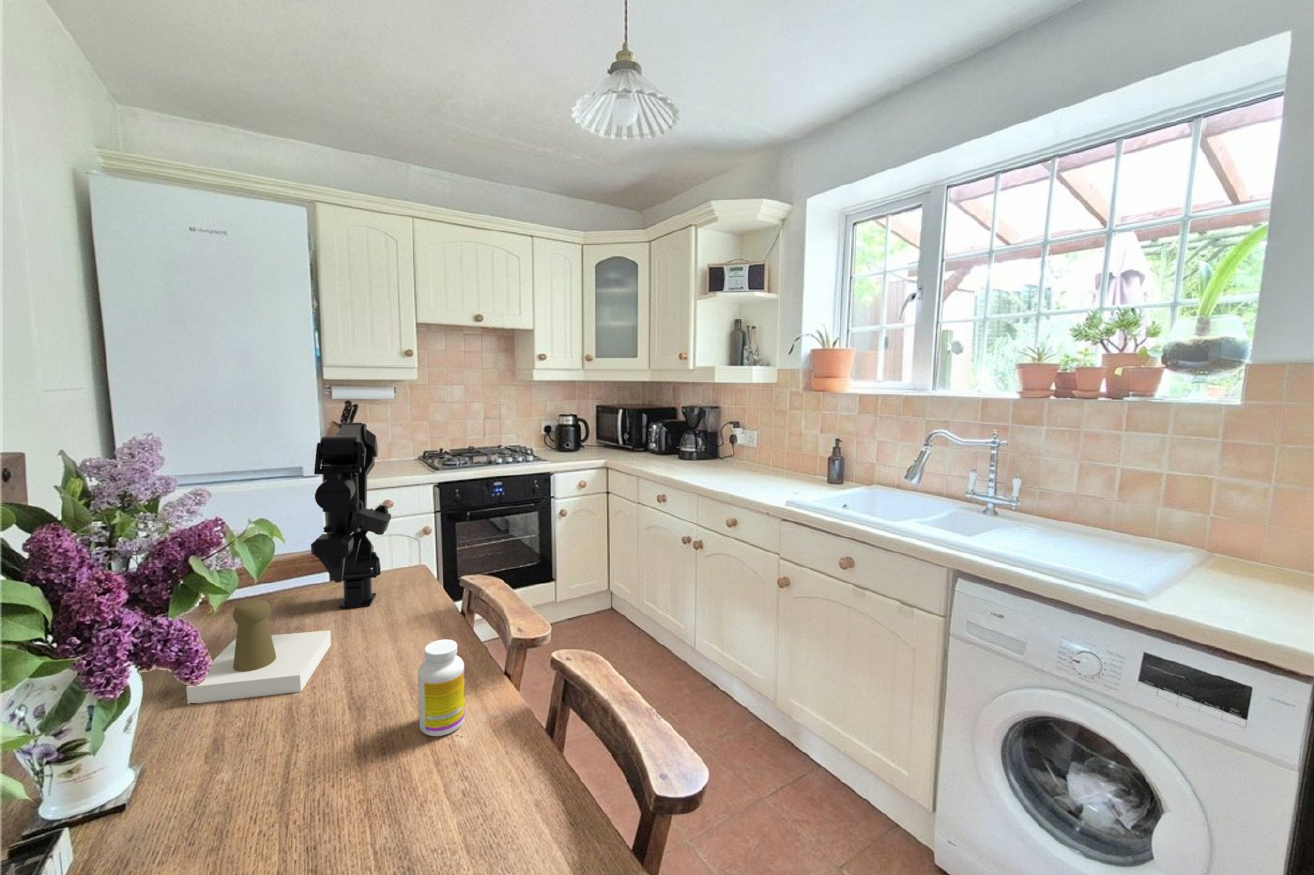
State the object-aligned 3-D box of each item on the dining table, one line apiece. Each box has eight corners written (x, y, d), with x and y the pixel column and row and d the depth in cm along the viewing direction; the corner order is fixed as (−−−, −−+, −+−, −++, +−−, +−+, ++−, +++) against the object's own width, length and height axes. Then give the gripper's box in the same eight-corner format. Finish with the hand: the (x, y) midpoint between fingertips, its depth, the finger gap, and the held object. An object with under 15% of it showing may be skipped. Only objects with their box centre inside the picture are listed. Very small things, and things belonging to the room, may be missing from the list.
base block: (236, 653, 101) (235, 638, 101) (331, 644, 105) (330, 630, 105) (187, 704, 86) (186, 687, 85) (300, 691, 90) (300, 675, 90)
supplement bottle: (472, 724, 83) (472, 647, 82) (431, 745, 79) (429, 663, 77) (452, 705, 88) (451, 631, 86) (412, 723, 83) (410, 646, 82)
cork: (278, 664, 93) (274, 603, 92) (234, 675, 89) (229, 613, 88) (274, 649, 97) (271, 592, 96) (232, 660, 93) (228, 600, 92)
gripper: (375, 509, 100) (378, 588, 101) (396, 487, 117) (398, 555, 119) (308, 511, 97) (312, 593, 98) (339, 488, 114) (342, 558, 116)
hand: (345, 573), depth 108 cm, fingers open, 9 cm apart
